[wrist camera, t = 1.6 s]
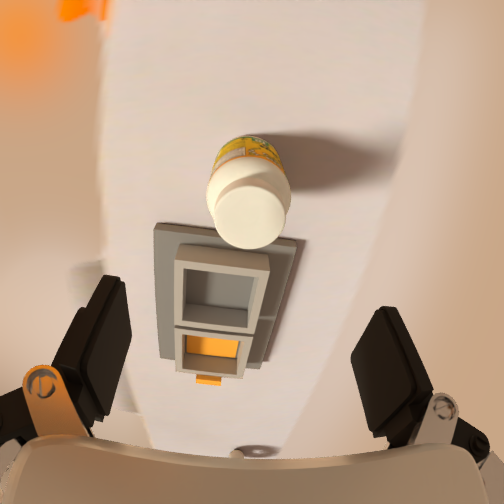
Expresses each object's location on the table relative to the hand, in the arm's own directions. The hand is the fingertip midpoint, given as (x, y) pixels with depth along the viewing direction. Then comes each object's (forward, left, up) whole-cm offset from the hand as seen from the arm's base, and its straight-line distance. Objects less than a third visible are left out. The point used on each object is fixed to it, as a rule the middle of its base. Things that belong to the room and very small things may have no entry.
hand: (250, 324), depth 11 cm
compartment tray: (+16, -1, -17) cm, 23 cm away
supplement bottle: (0, 0, -17) cm, 17 cm away
